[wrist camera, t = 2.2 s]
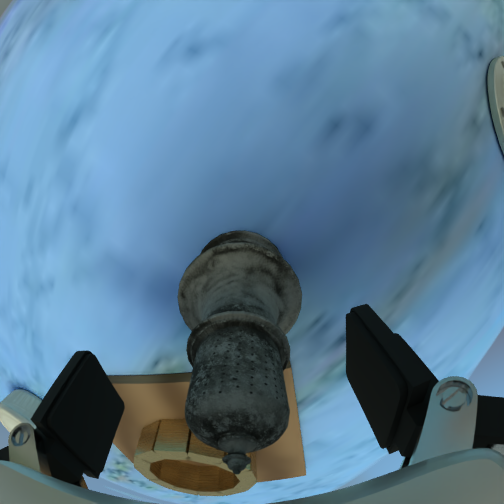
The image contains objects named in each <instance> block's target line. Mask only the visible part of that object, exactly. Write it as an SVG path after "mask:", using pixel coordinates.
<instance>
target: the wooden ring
mask: <svg viewBox="0 0 504 504" xmlns="http://www.w3.org/2000/svg"><path fill="white" fill-rule="evenodd" d="M227 454H228V453H227V452H224V451H221V450H218V449H215V448H213V447H211V446H209V445H206V444H205V443H203V442H202V441H200V440H199V439H198V438H197V437H196V436H195V435H194V434H193V433H192V431H191V430H190V428H189V427H188V425H187V422H186V420H185V419H162V420H160V419H159V420H157V421H155V422H153V423H151V424H149V425H146V426H144V427H143V428H142V432H141V435H140V438H139V441H138V444H137V448H136V451H135V454H134V468H135V469H137V470H138V471H139V472H140V473H141V474H142V475H143V476H145V477H146V478H147V479H149V480H150V481H152V482H155V483H157V484H159V485H161V486H164V487H166V488H168V489H172V490H174V491H179V492H183V493H188V494H193V495H198V494H199V495H200V496H225V495H226V496H227V495H232V494H236V493H241V492H245V491H246V490H249V489H250V488H251V487H252V486H253V485H254V484H256V483H257V464H256V451H255V452H249V453H246V455H247V456H248V457H250V458H251V463H250V464H248V465H246V468H245V469H244V470H242V471H241V473H240V474H238V475H237V474H234V473H233V471H232V470H230V469H229V468H228V466H227V464H225V463H223V461H222V458H223V457H224V456H226V455H227ZM178 460H190V461H195V462H200V463H205V464H210V465H215V466H198V465H193V464H189V463H184V462H180V461H178Z"/></svg>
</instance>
